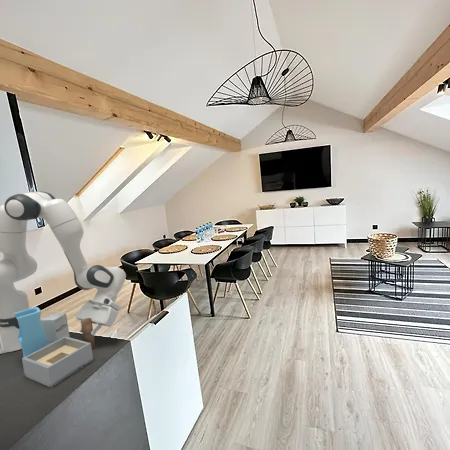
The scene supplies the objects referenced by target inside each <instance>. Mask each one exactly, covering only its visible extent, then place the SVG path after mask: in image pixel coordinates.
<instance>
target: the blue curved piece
mask: <svg viewBox="0 0 450 450" xmlns="http://www.w3.org/2000/svg"><path fill="white" fill-rule="evenodd" d="M29 308H30V307H29ZM41 312H42V311H41V309H40V308H39V307H38V306H34V307H31V308H30V309H26V310H23V311H19V312H16V313H14V314H15V316H16V318H17V320H18V323H19V336H18V339H19V342H20V344H21V347H22V349H21V351H22V358H24V357H26V356H28V355H30V354H32V353H34V352H36V351H38V350H39V349H41V348H43V347H45V346H46V335H45V333H44V331H43V329H42V326H41V321H40V320H41V315H42V313H41Z"/></svg>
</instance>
